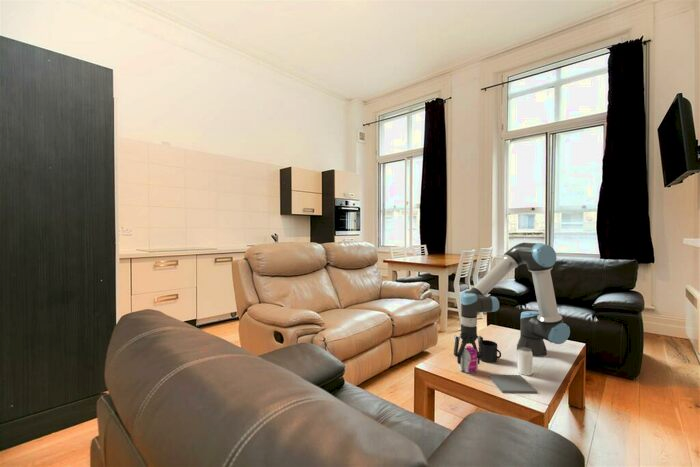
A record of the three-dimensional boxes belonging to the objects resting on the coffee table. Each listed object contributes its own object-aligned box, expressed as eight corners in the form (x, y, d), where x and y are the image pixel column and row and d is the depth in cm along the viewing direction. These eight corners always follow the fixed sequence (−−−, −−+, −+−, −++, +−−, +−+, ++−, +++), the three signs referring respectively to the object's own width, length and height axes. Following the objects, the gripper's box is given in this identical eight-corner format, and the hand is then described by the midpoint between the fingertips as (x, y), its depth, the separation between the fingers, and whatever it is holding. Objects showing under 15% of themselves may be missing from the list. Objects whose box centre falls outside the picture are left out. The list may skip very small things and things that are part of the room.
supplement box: (467, 373, 160) (467, 350, 160) (459, 368, 166) (460, 346, 165) (477, 372, 161) (477, 349, 161) (469, 367, 167) (469, 345, 167)
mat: (520, 377, 156) (520, 375, 156) (537, 393, 141) (537, 390, 141) (488, 376, 157) (488, 374, 157) (502, 392, 142) (502, 390, 142)
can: (527, 369, 164) (527, 346, 164) (535, 375, 158) (535, 351, 157) (514, 370, 164) (515, 346, 164) (522, 376, 158) (522, 351, 157)
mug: (496, 366, 169) (496, 349, 168) (475, 358, 178) (475, 342, 178) (505, 361, 175) (505, 344, 174) (483, 354, 184) (484, 338, 184)
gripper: (451, 326, 159) (450, 373, 160) (491, 327, 159) (491, 373, 160) (446, 322, 167) (446, 366, 168) (485, 322, 166) (485, 367, 167)
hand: (468, 370), depth 164 cm, fingers closed on supplement box, 7 cm apart
